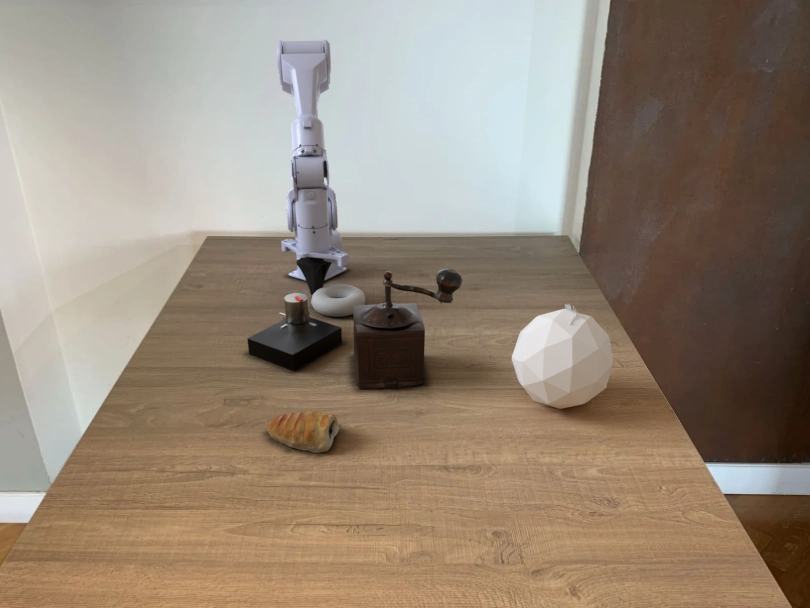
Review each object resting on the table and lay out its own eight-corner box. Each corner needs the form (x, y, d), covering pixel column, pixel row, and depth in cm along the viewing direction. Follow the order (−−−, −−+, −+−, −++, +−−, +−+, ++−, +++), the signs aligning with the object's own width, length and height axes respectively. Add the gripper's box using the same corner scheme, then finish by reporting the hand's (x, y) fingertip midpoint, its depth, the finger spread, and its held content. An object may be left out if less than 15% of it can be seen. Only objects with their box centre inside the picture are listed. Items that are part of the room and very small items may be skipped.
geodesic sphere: (504, 329, 115) (515, 282, 102) (597, 330, 115) (621, 283, 101) (507, 420, 109) (519, 383, 96) (605, 422, 109) (632, 385, 95)
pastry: (260, 447, 98) (258, 423, 96) (277, 420, 104) (275, 397, 102) (329, 456, 97) (327, 431, 95) (342, 428, 102) (341, 404, 100)
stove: (297, 321, 133) (295, 305, 131) (350, 338, 126) (349, 321, 125) (239, 350, 123) (237, 333, 121) (294, 371, 116) (293, 353, 115)
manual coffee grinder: (356, 391, 111) (353, 279, 102) (352, 357, 120) (349, 251, 112) (459, 386, 112) (465, 274, 103) (447, 352, 122) (451, 247, 113)
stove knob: (281, 318, 127) (279, 294, 125) (302, 312, 129) (301, 289, 126) (292, 326, 124) (291, 302, 122) (313, 320, 126) (312, 297, 124)
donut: (360, 322, 132) (370, 299, 141) (359, 304, 131) (369, 282, 139) (305, 319, 134) (318, 296, 142) (304, 301, 132) (317, 279, 141)
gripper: (267, 222, 134) (273, 292, 141) (329, 237, 127) (332, 310, 133) (294, 212, 139) (298, 280, 146) (355, 226, 132) (356, 297, 138)
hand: (316, 294), depth 140 cm, fingers closed
